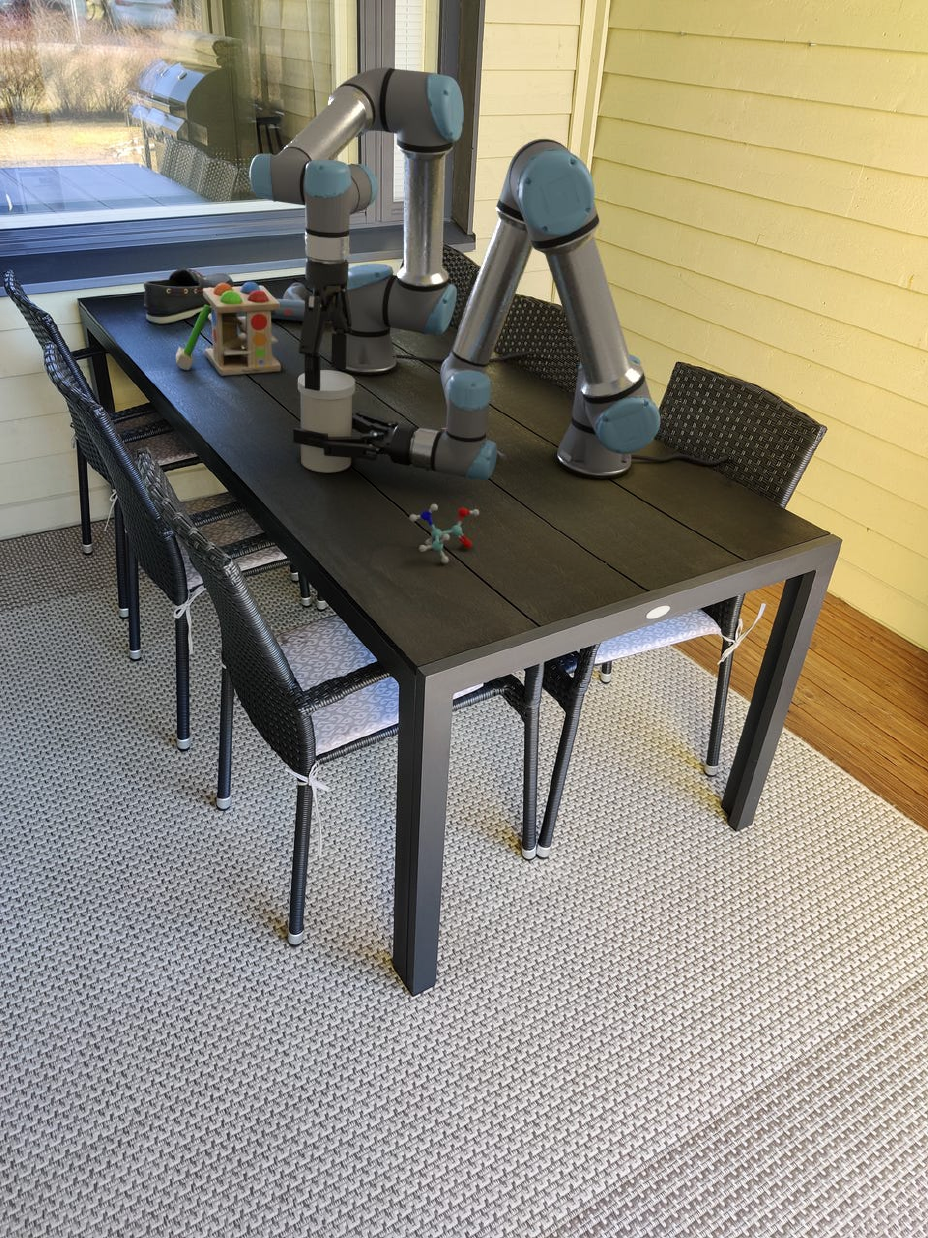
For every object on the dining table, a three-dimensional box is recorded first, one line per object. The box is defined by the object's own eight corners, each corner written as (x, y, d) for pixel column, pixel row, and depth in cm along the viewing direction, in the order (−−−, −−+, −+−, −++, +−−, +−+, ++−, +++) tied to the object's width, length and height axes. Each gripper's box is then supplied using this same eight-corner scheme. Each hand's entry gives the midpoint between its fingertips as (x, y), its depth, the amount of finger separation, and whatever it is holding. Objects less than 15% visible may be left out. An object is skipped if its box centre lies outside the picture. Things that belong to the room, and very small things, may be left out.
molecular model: (470, 557, 159) (450, 498, 158) (419, 572, 163) (399, 515, 161) (491, 545, 170) (472, 489, 168) (442, 560, 173) (424, 506, 172)
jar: (341, 476, 188) (343, 395, 179) (293, 467, 189) (292, 387, 180) (357, 455, 196) (359, 377, 187) (311, 447, 197) (310, 369, 188)
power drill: (344, 304, 276) (335, 327, 259) (277, 298, 275) (264, 321, 258) (344, 285, 273) (335, 306, 256) (277, 279, 272) (264, 300, 255)
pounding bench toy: (183, 379, 220) (176, 299, 210) (169, 357, 231) (162, 280, 221) (282, 371, 230) (280, 294, 220) (264, 350, 240) (262, 276, 230)
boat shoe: (253, 302, 272) (251, 263, 267) (163, 325, 248) (159, 283, 243) (219, 293, 278) (216, 255, 272) (128, 316, 254) (123, 274, 248)
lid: (344, 403, 179) (344, 394, 178) (289, 394, 181) (289, 385, 180) (362, 384, 188) (362, 375, 187) (309, 375, 189) (309, 366, 188)
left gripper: (333, 241, 181) (332, 355, 193) (277, 270, 162) (279, 395, 174) (371, 247, 180) (367, 362, 192) (319, 277, 160) (319, 403, 172)
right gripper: (394, 489, 178) (281, 465, 183) (431, 442, 197) (327, 422, 201) (396, 451, 174) (280, 428, 178) (433, 407, 192) (328, 387, 196)
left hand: (326, 378), depth 183 cm, fingers open, 12 cm apart
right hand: (305, 425), depth 190 cm, fingers closed on jar, 10 cm apart
